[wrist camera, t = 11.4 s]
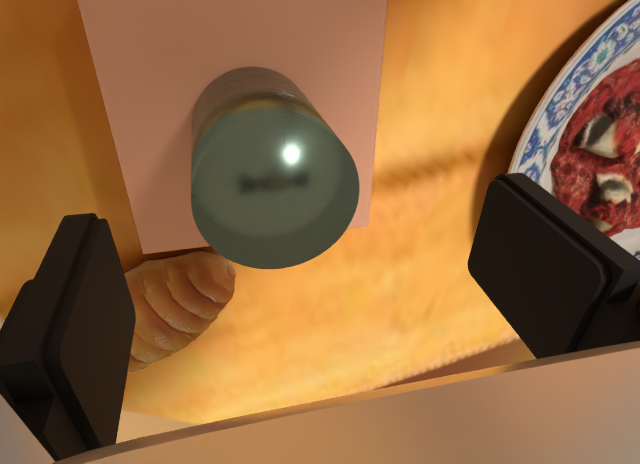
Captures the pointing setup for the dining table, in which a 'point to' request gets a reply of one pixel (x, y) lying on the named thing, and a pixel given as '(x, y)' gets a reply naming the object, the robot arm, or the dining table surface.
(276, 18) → the terracotta stand
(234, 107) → the tea tin
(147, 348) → the pastry
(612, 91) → the ceramic plate
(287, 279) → the dining table surface
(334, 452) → the robot arm
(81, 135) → the dining table surface
